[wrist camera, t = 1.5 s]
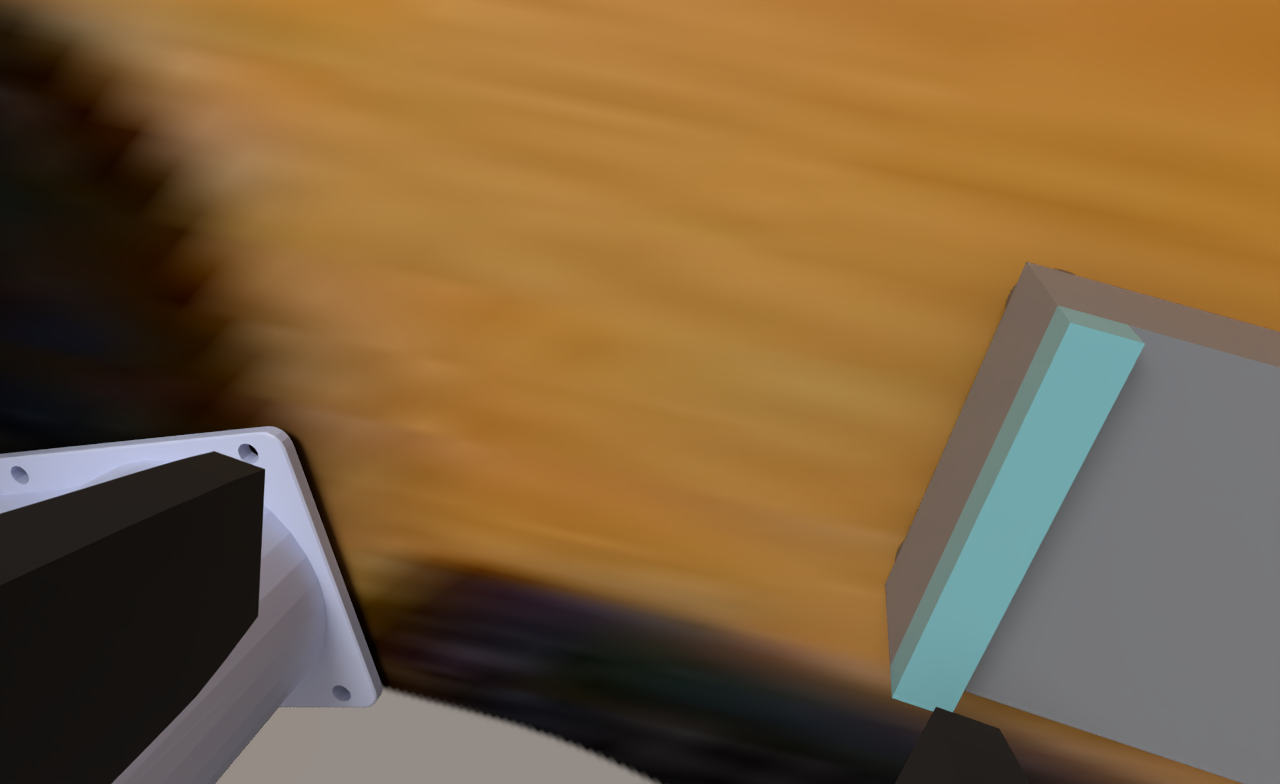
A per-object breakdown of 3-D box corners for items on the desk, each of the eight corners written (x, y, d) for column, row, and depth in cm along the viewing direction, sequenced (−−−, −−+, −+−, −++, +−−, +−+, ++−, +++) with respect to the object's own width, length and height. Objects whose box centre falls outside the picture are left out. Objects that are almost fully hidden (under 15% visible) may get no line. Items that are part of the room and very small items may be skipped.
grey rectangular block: (883, 563, 18) (892, 698, 15) (1018, 250, 15) (1070, 323, 12) (1374, 719, 17) (1514, 906, 14) (1621, 416, 14) (1883, 552, 11)
